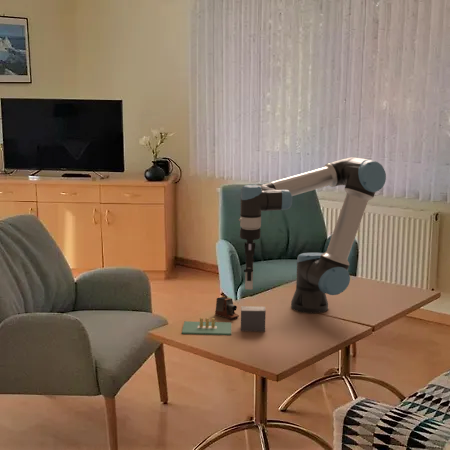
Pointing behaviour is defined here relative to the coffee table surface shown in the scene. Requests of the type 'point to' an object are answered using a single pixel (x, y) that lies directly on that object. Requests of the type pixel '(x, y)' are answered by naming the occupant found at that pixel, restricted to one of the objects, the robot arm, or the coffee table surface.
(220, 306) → the electronic device
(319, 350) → the coffee table surface
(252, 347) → the coffee table surface
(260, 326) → the block
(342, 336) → the coffee table surface
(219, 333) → the header board
